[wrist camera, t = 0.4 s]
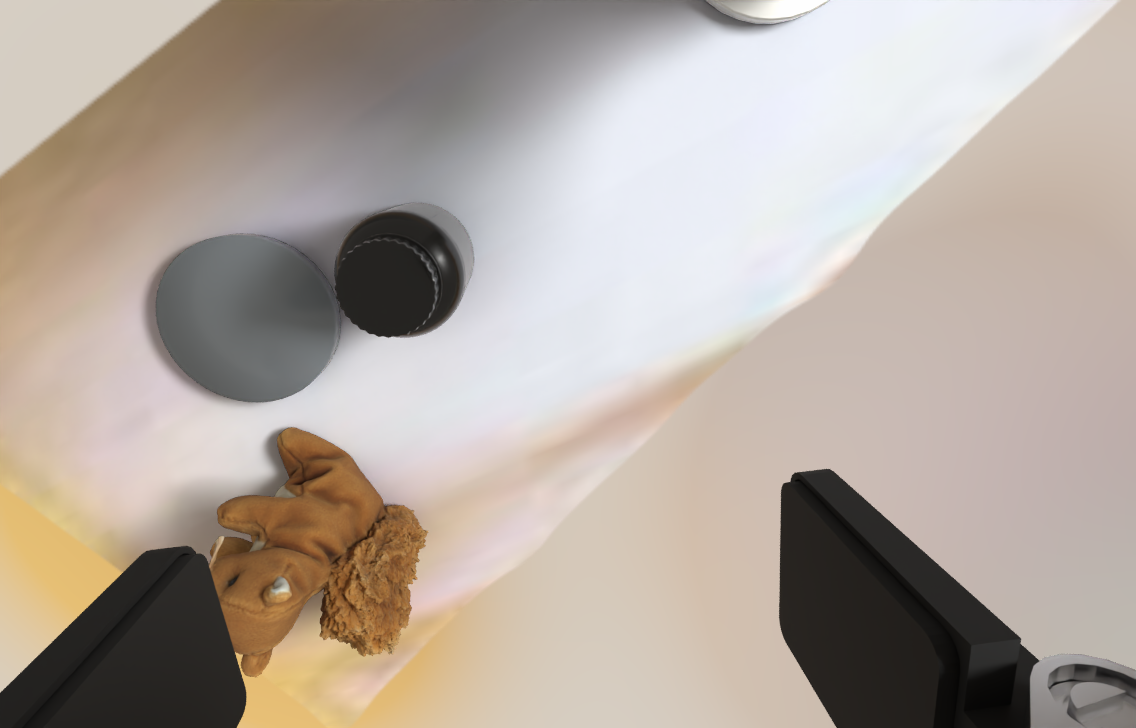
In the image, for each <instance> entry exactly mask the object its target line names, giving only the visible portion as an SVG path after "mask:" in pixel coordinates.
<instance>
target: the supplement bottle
mask: <svg viewBox="0 0 1136 728" xmlns="http://www.w3.org/2000/svg"><path fill="white" fill-rule="evenodd" d="M473 264H474V252H473V246H472V242H471V240H470V237H469V235H468V233H467V231H466V229H465V228H464V226H463V225H462V224H461V223H460V221H459V220H458V219H457V218H456V217H455V216H453V215H452V214H451V213H449V212H448V211H446V210H444V209H442V208H440V207H438V206H435V205H432V204H427V203H408V204H403V205H400V206H396V207H393V208H390V209H388V210H385V211H382V212H379V213H376V214H373V215H371V216H369V217H367V218H365V219H363V220H362V221H360V222H359V223H358V224H356V225H355V226H354V227H353V228H352V229H351V230H350V231H349V232H348V233H347V234H346V236H345V237H344V239H343V241H342V242H341V244H340V246H339V249H338V252H337V255H336V260H335V281H336V286H335V290H336V292H337V299H338V301H339V302H340V307H341V309H342V310H344V313H345V316H347V317H348V318H350V320H351V322H352V323H353V324H356V325H357V326H358V327H359V328H360V329H362V330H365V331H367V332H368V333H369V334H375V335H376V336H378V337H380V336H385V337H388V338H389V337H400V338H409V337H416V336H420V335H424V334H427V333H429V332H431V331H433V330H435V329H437V328H438V327H440V326H441V325H442V324H444V323H445V322H446V321H447V320H448V319H449V318H450V317H451V316H452V314H453V313H454V312H455V310H456V309H457V307H458V305H459V303H460V301H461V299H462V297H463V294H464V292H465V289H466V287H467V284H468V282H469V280H470V277H471V274H472V270H473Z"/></svg>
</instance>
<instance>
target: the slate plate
mask: <svg viewBox="0 0 1136 728" xmlns="http://www.w3.org/2000/svg"><path fill="white" fill-rule="evenodd" d="M156 318H157V324H158V328H159V331H160V335H161V337H162V340H163V342H164V344H165V346H166V348H167V350H168V351H169V353H170V355H171V356H172V358H173V359H174V360H175V362H176V363H177V364H178V366H179V367H180V368H181V369H182V370H183V371H184V372H185V373H186V374H187V375H188V376H190V377H191V378H192V379H193V380H194V381H196V382H197V383H199V384H200V385H202V386H203V387H205V388H206V389H208V390H210V391H212V392H214V393H216V394H219V395H222V396H224V397H227V398H231V399H235V400H239V401H246V402H268V401H275V400H279V399H283V398H286V397H288V396H291V395H293V394H295V393H297V392H299V391H301V390H302V389H304V388H305V387H306V386H308V385H309V384H310V383H311V382H312V381H313V380H314V379H315V378H316V377H317V376H318V375H319V374H320V373H322V372H323V371H324V369H325V368H326V367H327V365H328V364H329V363H330V361H331V359H332V357H333V356H334V354H335V351H336V348H337V346H338V342H339V337H340V328H341V322H340V312H339V307H338V303H337V300H336V297H335V294H334V292H333V290H332V288H331V286H330V284H329V282H328V281H327V279H326V278H325V276H324V275H323V273H322V272H321V271H320V270H319V269H318V267H317V266H316V265H315V264H314V263H313V262H312V261H311V260H310V259H308V258H307V257H306V256H305V255H303V254H302V253H301V252H299V251H298V250H297V249H295V248H293V247H291V246H290V245H288V244H286V243H284V242H281V241H279V240H277V239H273V238H270V237H267V236H262V235H256V234H243V233H240V234H229V235H225V236H220V237H215V238H211V239H207V240H204V241H202V242H199V243H196V244H195V245H193V246H191V247H189V248H187V249H186V250H185V251H183V252H182V253H181V254H180V255H178V256H177V257H176V258H175V260H174V261H173V262H172V263H171V264H170V265H169V267H168V268H167V270H166V271H165V273H164V275H163V277H162V279H161V281H160V284H159V288H158V291H157V298H156Z"/></svg>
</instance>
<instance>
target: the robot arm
mask: <svg viewBox="0 0 1136 728" xmlns="http://www.w3.org/2000/svg"><path fill="white" fill-rule="evenodd" d="M705 1H707V2H708V3H709V4H711V5H712V6H713V7H715V8H716V9H717V10H718V11H720V12H722V13H724V14H726V15H728V16H731V17H733V18H735V19H737V20H741V21H746V22H751V23H755V24H775V23H780V22H784V21H789V20H794V19H796V18H798V17H801V16H803V15H805V14H807V13H810V12H812V11H814V10H815V9H817V8H819V7H821V6H822V5H824V4H826V3H827V2H828V1H830V0H705ZM780 537H781V538H780V539H781V540H780V603H779V607H780V608H779V619H780V626H781V631H782V634H783V637H784V639H785V641H786V643H787V645H788V647H789V648H790V650H791V652H792V653H793V655H794V657H795V658H796V660H797V662H798V663H799V665H800V667H801V669H802V670H803V672H804V674H805V675H806V677H807V679H808V680H809V682H810V684H811V685H812V687H813V689H814V690H815V692H816V694H817V695H818V697H819V699H820V701H821V702H822V704H823V706H824V707H825V709H826V711H827V712H828V714H829V716H830V717H831V719H832V721H833V722H834V724H835V726H836V727H837V728H1136V670H1134V669H1132V668H1129V667H1126V666H1124V665H1121V664H1118V663H1115V662H1112V661H1110V660H1106V659H1101V658H1097V657H1092V656H1087V655H1081V654H1058V655H1054V656H1050V657H1045V658H1043V659H1042V660H1041V661H1039V660H1038V659H1037V658H1036V657H1035V656H1034V655H1032V654H1031V653H1030V652H1029V651H1028V650H1027V649H1026V648H1025V647H1024V646H1022V645H1021V644H1020V642H1021V638H1020V637H1019V636H1018V635H1017V634H1015V633H1014V632H1013V631H1012V630H1011V629H1010V628H1009V627H1008V626H1006V625H1005V624H1004V623H1003V622H1002V621H1001V620H1000V619H998V618H997V617H996V616H995V615H994V614H993V613H992V612H991V611H990V610H988V609H987V608H986V607H985V606H984V605H983V604H982V603H981V602H979V601H978V600H977V599H976V598H975V597H974V596H973V595H972V594H971V593H969V592H968V591H967V590H966V589H965V588H964V587H963V586H961V585H960V584H959V583H958V582H957V581H956V580H955V579H954V578H953V577H951V576H950V575H949V574H948V573H947V572H946V571H945V570H944V569H942V568H941V567H940V566H939V565H938V564H937V563H936V562H935V561H933V560H932V559H931V558H930V557H929V556H928V555H927V554H926V553H925V552H923V551H922V550H921V549H920V548H919V547H918V546H917V545H915V544H914V543H913V542H912V541H911V540H910V539H909V538H908V537H906V536H905V535H904V534H903V533H902V532H901V531H900V530H899V529H898V528H896V527H895V526H894V525H893V524H892V523H891V522H890V521H889V520H887V519H886V518H885V517H884V516H883V515H882V514H881V513H880V512H878V511H877V510H876V509H875V508H874V507H873V506H872V505H871V504H869V503H868V502H867V501H866V500H865V499H864V498H863V497H862V496H861V495H859V494H858V493H857V492H856V491H855V490H854V489H853V488H852V487H850V486H849V485H848V484H847V483H846V482H845V481H843V479H841V478H840V477H839V476H838V475H837V474H836V473H835V472H834V471H832V470H830V469H822V470H814V471H806V472H797V473H794V474H793V475H792V478H791V482H788V483H784V484H783V486H782V490H781V536H780ZM245 706H246V689H245V685H244V682H243V679H242V675H241V672H240V668H239V665H238V662H237V658H236V655H235V652H234V648H233V645H232V641H231V638H230V635H229V631H228V628H227V625H226V621H225V618H224V615H223V611H222V608H221V605H220V601H219V598H218V594H217V591H216V588H215V584H214V581H213V578H212V574H211V571H210V568H209V564H208V561H207V559H206V557H205V556H204V555H202V554H196V552H195V551H194V550H193V549H192V548H191V547H189V546H181V547H173V548H165V549H157V550H150V551H146V552H145V553H143V554H142V555H141V556H140V557H139V558H138V559H137V560H136V561H134V562H133V563H132V564H131V565H130V566H129V567H128V568H127V569H126V570H125V571H124V572H123V573H122V574H121V575H120V576H119V577H118V578H117V579H116V580H115V581H114V582H113V583H112V584H111V585H110V586H109V587H108V588H107V589H106V590H105V591H104V592H103V593H102V594H101V595H100V596H99V597H98V598H97V599H96V600H95V601H94V602H93V603H92V604H91V605H90V606H89V607H88V608H86V609H85V611H83V612H82V613H81V614H80V615H79V616H78V617H77V618H76V619H75V620H74V621H73V622H72V623H71V624H70V625H69V626H68V627H67V628H66V629H65V630H64V631H63V632H62V633H61V634H60V635H59V636H58V637H57V638H56V639H55V640H54V641H53V642H52V643H51V644H50V645H49V646H48V647H47V648H46V649H45V650H44V651H43V652H42V653H41V654H40V655H38V656H37V657H36V658H35V659H34V660H33V661H32V662H31V663H30V664H29V665H28V666H27V667H26V668H25V669H24V670H23V671H22V672H21V673H20V674H19V675H18V676H17V677H16V678H15V679H14V680H13V681H12V682H11V683H10V684H9V685H8V686H7V687H6V688H5V689H4V690H3V691H2V692H1V693H0V728H237V726H238V724H239V722H240V720H241V718H242V716H243V713H244V710H245Z"/></svg>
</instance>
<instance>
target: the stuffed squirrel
mask: <svg viewBox="0 0 1136 728" xmlns="http://www.w3.org/2000/svg"><path fill="white" fill-rule="evenodd" d="M277 445H278V449H279V453H280V456H281V458H282V461H283V464H284V466H285V468H286V470H287V473H288V475H289V478H290V479H289V480H288V481H287V482H286V484H285V485H283V486H282V487H280V489H279V490H278V491H277V493H276V494H275V496H274V497H270V496H258V495H249V496H240V497H236V498H233V499H230V500H228V501H226V502H225V503H223V504H222V505H221V506H220V507H219V508H218V509H217V514H218V523H219V524H220V525H221V526H223V527H225V528H227V529H231V530H234V531H238V532H241V533H245V534H249V535H251V539H252V542H249V541H247V540H244V539H241V538H237V537H224V536H220V537H219V538H218V539H217V540H216V542H215V543H214V545H213V547H212V549H211V551H210V554H211V556H212V559H211V561H210V563H209V568H210V571H211V574H212V578H213V581H214V584H215V588H216V591H217V594H218V598H219V601H220V605H221V608H222V611H223V615H224V618H225V621H226V625H227V628H228V631H229V635H230V638H231V641H232V645H233V648H234V652H236V653H239V654H243V657H242V662H241V668H242V670H243V672H244V674H245V675H246V676H250V677H257V676H258V675H260V674H262V671H263V670H264V669H265V668H266V665H267V664H268V663H269V660H270V657H271V653H272V649H273V647H275V646H276V645H278V644H279V643H280V642H281V641H282V640H283V639H284V637H285V636H286V635H287V634H288V633H289V631H290V630H291V629H292V627H293V625H294V623H295V622H296V620H297V618H298V616H299V614H300V612H301V610H302V608H303V606H304V605H305V603H306V602H307V601H308V599H309V598H310V597H311V596H313V595H315V594H317V593H319V592H320V591H321V590H323V589H324V592H323V594H324V597H323V600H322V606H321V611H322V612H323V613H322V616H321V618H320V624H321V633H320V637H322V638H323V639H324V640H326V639H327V638H328V637H331V640H332V639H336V638H337V640H338V641H339V642H345V643H346V644H347V643H350V644H351V647H352V649H353V648H354V649H356V648H357V651H358V652H359V654H360V655H362V656H366V654H369V655H372V656H373V654H380V653H382V651H383V649H384V650H386V651H387V652H388V653H389V654H394V650H395V649H396V647H395V645H398V642H399V636H400V635H401V633H400V630H401V628H402V627H404V628H406V626H407V625H408V621H409V614H410V611H411V609H412V607H411V605H410V603H409V602H410V590H409V589H408V584H413V581H412V579H415V580H416V579H417V577H416V576H415V574H416V569H415V567H416V565H415V563H416V562H419V559H418V558H417V557H418V554H417V553H418V552H419V549H421V548H423V547H425V546H426V545H424V543H425V541H426V540H425V539H424V538H425V537H426V535H427V534H426V533H428V531H425V530H422V528H421V526H420V525H419V522H418V520H417V518H415V516H414V514H413V512H414V510H412V511H411V510H410V509H408V508H406V507H405V506H404V505H403V506H400V505H399V506H397V505H394V506H392V505H390V506H389V505H388V506H387V507H386V506H384V504H383V500H382V498H381V496H380V495H379V494H378V493H377V491H376V490H375V488H374V487H373V486H372V484H371V483H370V482H369V481H368V480H367V478H366V477H365V476H364V474H363V473H362V472H361V471H360V469H359V468H358V466H357V465H356V463H355V462H354V460H353V458H352V457H351V456H350V455H349V454H348V453H346V452H345V451H343V450H342V449H340V448H338V447H337V446H335V445H333V444H332V443H330V442H328V441H326V440H324V439H322V438H320V437H318V436H316V435H314V434H311V433H309V432H306V431H302V430H300V429H298V428H293V427H291V428H287V429H286V430H284V431H283V432H282V433H281V434H279V436H278V438H277Z"/></svg>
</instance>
